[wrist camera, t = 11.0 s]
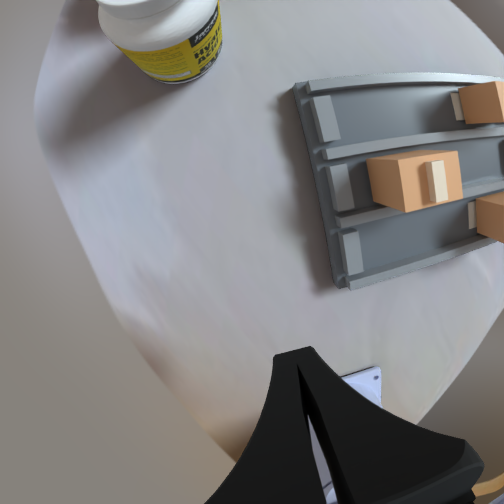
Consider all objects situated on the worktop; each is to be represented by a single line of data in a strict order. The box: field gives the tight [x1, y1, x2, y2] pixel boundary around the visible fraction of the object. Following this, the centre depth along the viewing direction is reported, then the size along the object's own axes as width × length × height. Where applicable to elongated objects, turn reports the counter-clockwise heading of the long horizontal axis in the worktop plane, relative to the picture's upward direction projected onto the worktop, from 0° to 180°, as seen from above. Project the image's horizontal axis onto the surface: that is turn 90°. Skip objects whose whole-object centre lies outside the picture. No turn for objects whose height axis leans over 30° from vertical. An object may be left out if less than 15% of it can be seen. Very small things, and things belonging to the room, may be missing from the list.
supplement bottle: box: [96, 0, 222, 84], centre depth 11 cm, size 5×5×10 cm
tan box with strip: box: [366, 150, 463, 213], centre depth 15 cm, size 3×4×5 cm, turn 104°
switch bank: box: [292, 73, 504, 290], centre depth 18 cm, size 13×18×2 cm
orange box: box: [458, 81, 504, 124], centre depth 14 cm, size 3×4×5 cm, turn 104°
